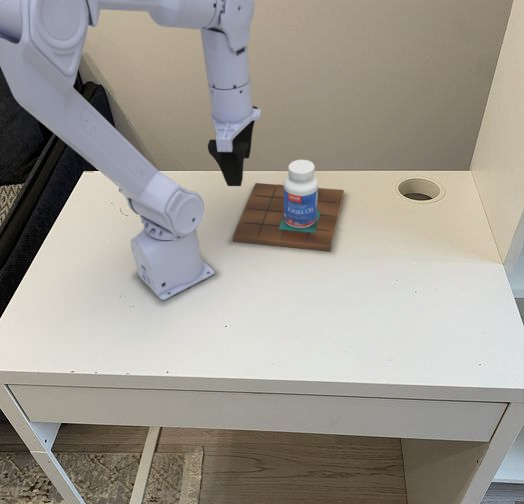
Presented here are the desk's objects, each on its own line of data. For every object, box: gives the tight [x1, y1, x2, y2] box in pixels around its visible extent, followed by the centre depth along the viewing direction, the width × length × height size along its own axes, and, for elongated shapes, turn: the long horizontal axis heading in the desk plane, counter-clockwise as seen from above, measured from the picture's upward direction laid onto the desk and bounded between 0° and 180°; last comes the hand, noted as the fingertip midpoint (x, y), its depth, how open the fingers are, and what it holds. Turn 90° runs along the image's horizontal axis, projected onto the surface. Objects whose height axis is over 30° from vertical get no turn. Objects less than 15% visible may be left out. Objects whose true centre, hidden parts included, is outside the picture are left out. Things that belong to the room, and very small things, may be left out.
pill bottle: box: [283, 159, 319, 228], centre depth 87 cm, size 6×5×10 cm
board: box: [232, 182, 345, 252], centre depth 92 cm, size 16×16×1 cm
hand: (238, 170), depth 84 cm, fingers open, 7 cm apart
